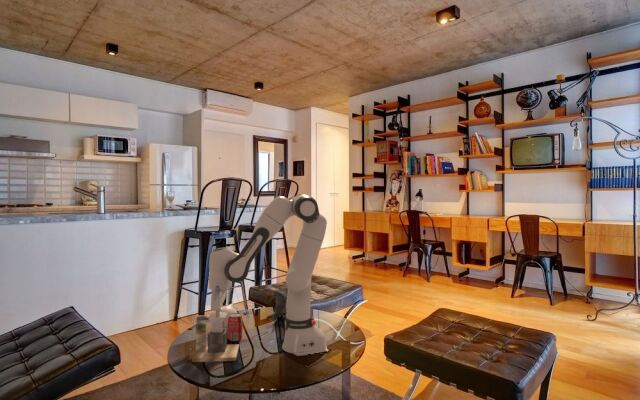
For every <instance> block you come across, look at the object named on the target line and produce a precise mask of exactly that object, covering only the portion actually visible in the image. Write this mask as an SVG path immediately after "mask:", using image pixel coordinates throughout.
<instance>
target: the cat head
mask: <svg viewBox="0 0 640 400" xmlns="http://www.w3.org/2000/svg"><path fill="white" fill-rule="evenodd" d="M221 312H227V317H226V320H225V321H224V328H227V331H228V318H229V315H230V314H233V313H238V312H237V310H236V309H235V308H234V303H230V304H228V305H227V304H226V305H222V306H221ZM210 323H211V324H212V321H209V324H210Z"/></svg>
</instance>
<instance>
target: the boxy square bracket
mask: <svg viewBox="0 0 640 400" xmlns="http://www.w3.org/2000/svg"><path fill="white" fill-rule="evenodd" d="M226 317H227V312H221V313H220V315H219V316H216V311H214V312H211V313H210V315H209V316H206V317H198V318H197V317H196V321H197V320H206V321H208V322H211V321H212V322H211V329H212V334H221V333H224V321H225V320H226Z"/></svg>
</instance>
